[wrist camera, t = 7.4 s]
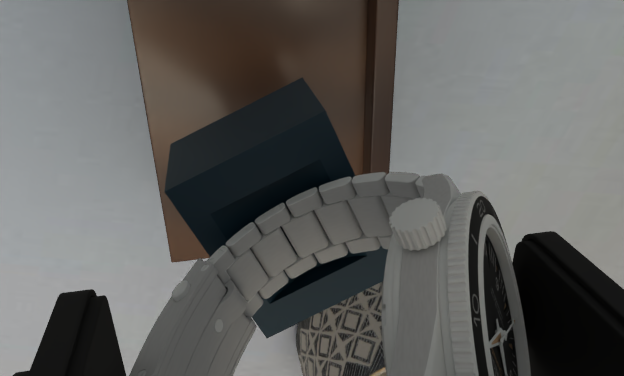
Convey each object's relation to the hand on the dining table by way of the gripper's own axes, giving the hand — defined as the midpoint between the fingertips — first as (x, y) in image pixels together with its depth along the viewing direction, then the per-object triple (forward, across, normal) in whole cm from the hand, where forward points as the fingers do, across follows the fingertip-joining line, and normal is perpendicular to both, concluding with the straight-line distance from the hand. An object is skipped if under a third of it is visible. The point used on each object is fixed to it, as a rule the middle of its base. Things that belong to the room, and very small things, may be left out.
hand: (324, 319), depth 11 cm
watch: (+7, 0, 0) cm, 7 cm away
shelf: (+23, -1, 0) cm, 23 cm away
